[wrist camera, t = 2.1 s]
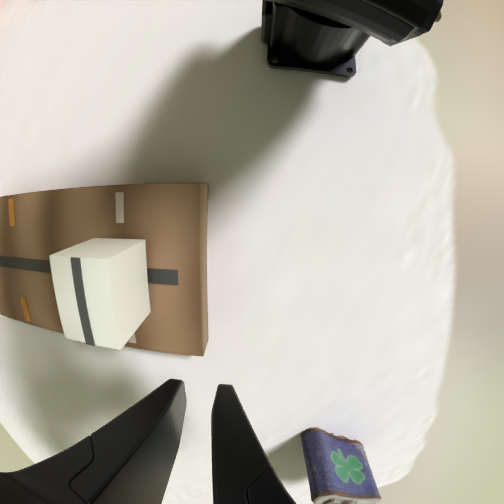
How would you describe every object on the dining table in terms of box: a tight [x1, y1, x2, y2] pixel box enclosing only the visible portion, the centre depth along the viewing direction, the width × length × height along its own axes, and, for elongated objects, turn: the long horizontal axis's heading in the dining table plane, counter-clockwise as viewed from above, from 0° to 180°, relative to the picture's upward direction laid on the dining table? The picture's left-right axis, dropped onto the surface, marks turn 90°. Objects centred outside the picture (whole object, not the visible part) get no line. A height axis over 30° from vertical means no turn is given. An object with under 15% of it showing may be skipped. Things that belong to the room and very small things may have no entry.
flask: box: [300, 427, 381, 504], centre depth 19 cm, size 9×3×11 cm, turn 55°
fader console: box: [0, 183, 208, 356], centre depth 19 cm, size 23×12×3 cm, turn 88°
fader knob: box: [49, 238, 151, 350], centre depth 15 cm, size 4×5×5 cm
